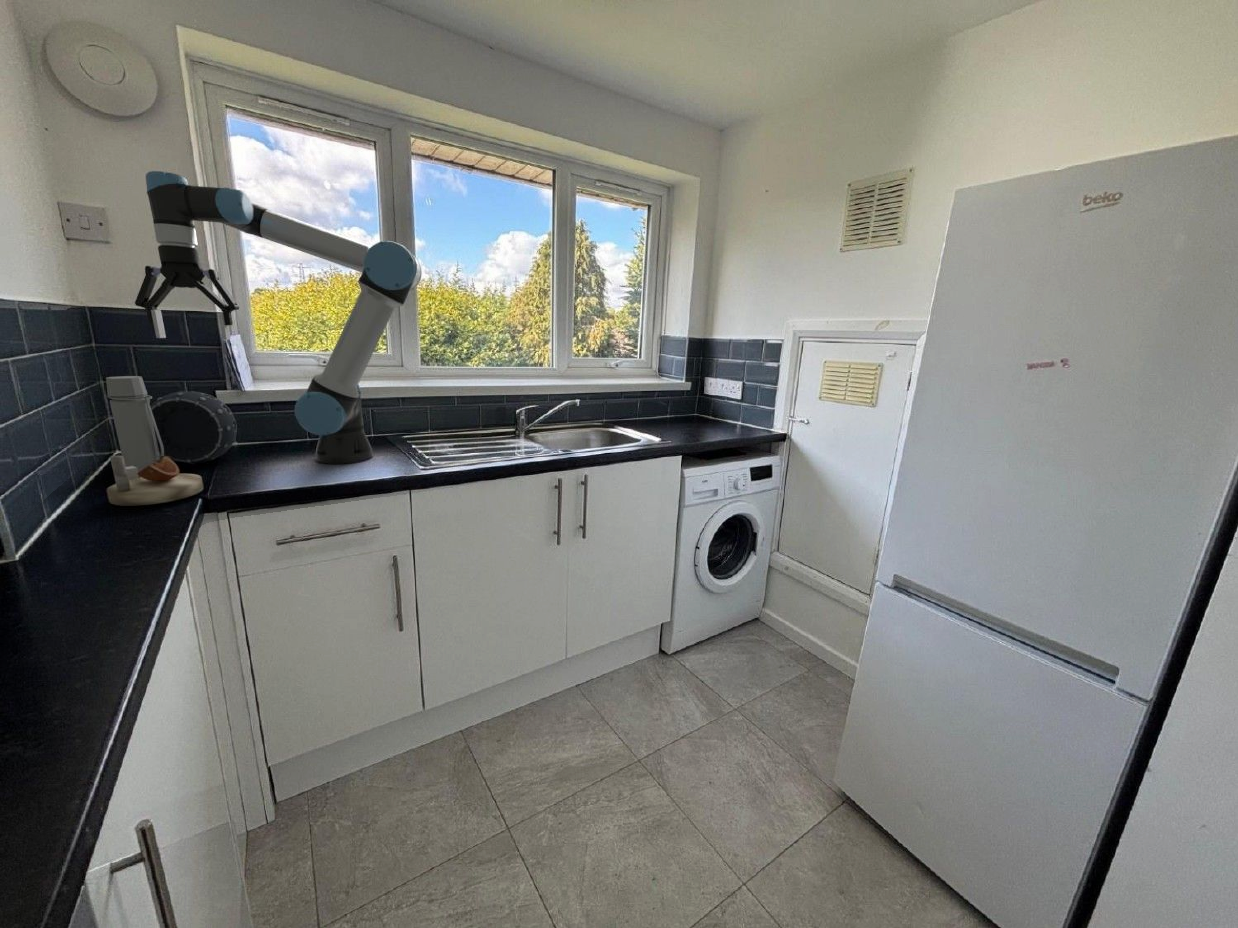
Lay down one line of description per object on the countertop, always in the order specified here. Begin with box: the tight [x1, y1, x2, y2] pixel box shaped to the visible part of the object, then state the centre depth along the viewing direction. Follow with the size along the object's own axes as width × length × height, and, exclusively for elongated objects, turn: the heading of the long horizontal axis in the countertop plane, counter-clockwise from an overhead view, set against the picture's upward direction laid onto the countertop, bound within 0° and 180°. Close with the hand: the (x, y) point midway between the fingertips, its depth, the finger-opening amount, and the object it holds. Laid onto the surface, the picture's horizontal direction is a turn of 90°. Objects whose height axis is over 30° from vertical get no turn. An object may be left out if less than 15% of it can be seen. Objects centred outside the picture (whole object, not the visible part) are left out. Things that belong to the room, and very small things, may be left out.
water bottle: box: [105, 375, 164, 473], centre depth 130 cm, size 9×8×25 cm
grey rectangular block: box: [126, 466, 139, 480], centre depth 121 cm, size 2×2×5 cm
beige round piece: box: [106, 455, 204, 507], centre depth 115 cm, size 16×19×10 cm
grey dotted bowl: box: [150, 391, 238, 465], centre depth 143 cm, size 11×20×20 cm, turn 107°
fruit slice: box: [137, 456, 180, 481], centre depth 116 cm, size 8×7×5 cm
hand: (194, 338), depth 127 cm, fingers open, 13 cm apart
